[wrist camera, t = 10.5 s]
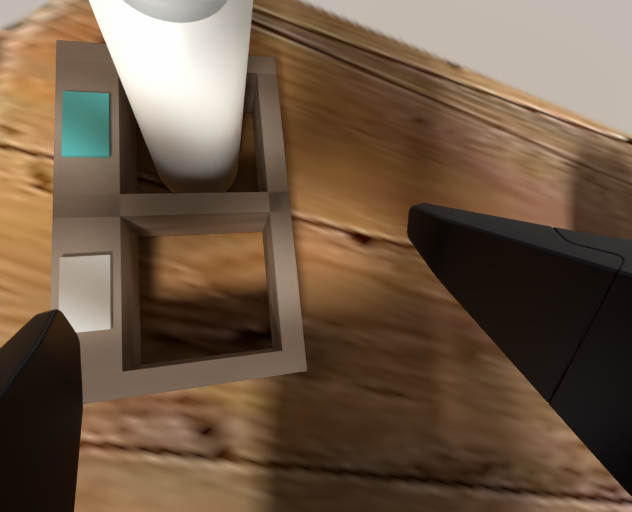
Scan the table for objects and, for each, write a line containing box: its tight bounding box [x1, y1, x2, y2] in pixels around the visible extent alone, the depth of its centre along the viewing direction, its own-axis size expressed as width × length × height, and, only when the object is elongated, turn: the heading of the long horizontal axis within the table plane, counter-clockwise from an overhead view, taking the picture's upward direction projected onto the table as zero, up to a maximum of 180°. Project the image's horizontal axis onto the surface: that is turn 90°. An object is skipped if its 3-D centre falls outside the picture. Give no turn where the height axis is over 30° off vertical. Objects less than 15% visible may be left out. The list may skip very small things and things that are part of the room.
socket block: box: [51, 40, 307, 404], centre depth 18 cm, size 16×10×4 cm, turn 7°
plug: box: [89, 0, 253, 193], centre depth 14 cm, size 4×4×12 cm
